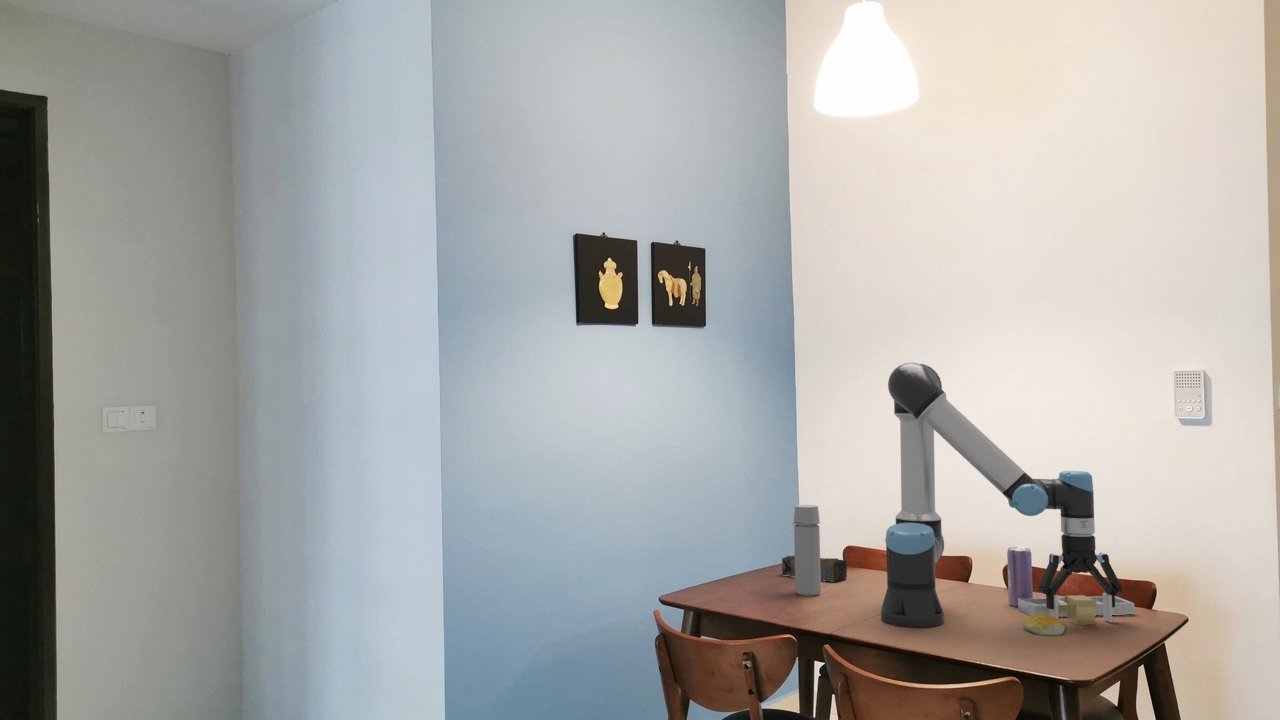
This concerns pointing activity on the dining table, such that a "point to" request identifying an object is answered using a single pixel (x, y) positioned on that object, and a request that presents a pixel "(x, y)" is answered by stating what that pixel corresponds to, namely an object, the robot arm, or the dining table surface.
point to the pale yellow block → (1080, 609)
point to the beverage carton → (828, 568)
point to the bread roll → (1043, 625)
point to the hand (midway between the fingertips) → (1081, 621)
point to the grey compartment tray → (1040, 607)
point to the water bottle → (807, 550)
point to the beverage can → (1019, 574)
